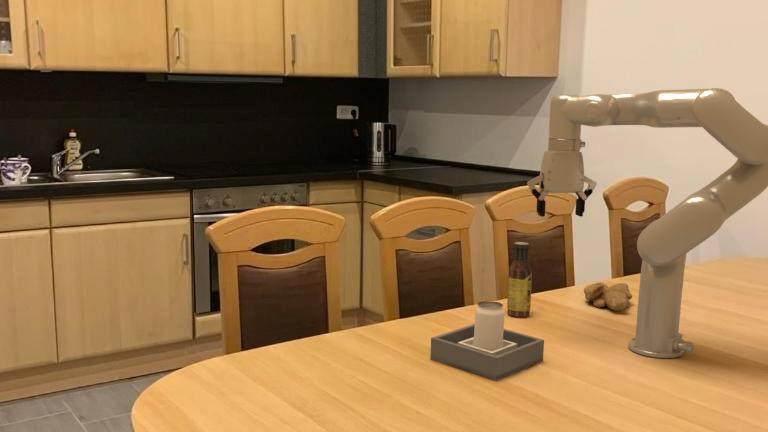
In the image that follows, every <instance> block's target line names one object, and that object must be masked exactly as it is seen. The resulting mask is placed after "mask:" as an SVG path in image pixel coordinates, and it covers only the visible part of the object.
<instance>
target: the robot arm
mask: <svg viewBox="0 0 768 432" xmlns="http://www.w3.org/2000/svg"><path fill="white" fill-rule="evenodd" d="M549 108H550V109H549V122H548V125H549V126H548V145H547V150H545V151H544V152H543V156H542V161H541V165H540V173H539V175H538V176H536V177H534V178H531V179H530V180H528V181H527V182H526V184H527V186H528V188H529V191H530V193H531V194H532V195H533V196H534V198H535V199H536V214H537V215H538V216H539V217H542V218H543V217H546V200H545V198H546V197H547V196H548V194H549V193H550V194H551V193H552V194H575V195H576V196H577V198H576V200H575V213H574V214H575V216H578V217H580V218H582V217H583V216H584V213H585V209H586V208H585V207H586V201H587V200H588V199H589V197H590V196H591V195H592V194H593V193H594V192H593V191H594V190H595V188H596V186H597V185H598V184H597V182H596V181H595V180H593V179H592V178H590V177H588V176H586V175H585V164H584V158H583V157H584V156H583V152H581V150H582V148H586V141H582V139H581V133H582V131H581V130H582V126H587V127H591V128H592V127H593V128H594V127H596V128H597V127H603V126H604V127H605V126H647V127H651V128H659V129H661V128H662V129H663V128H664V129H665V128H666V129H667V128H669V129H671V128H702V129H704V131H705V132H706V133H708V135H710V136H711V137H712V138H713V139H715V141H717V142H718V143H719V144H720V145H722V146H723V147H724V148H725V149H726V150H727V151H728V152H729V153H730V154H732V155H733V156H734V157H735V158H736V161H735V163H734V164H733V165H732V166H731V167H729V168H728V169H726V170H725V171H724V172H723V173H721V174H720V175H719V176H718V177H716V178H715V179H714V180H712V181H711V182H709V183H708V184H707V185H705V186H704V187H702V188H701V189H699V190H698V191H695V192H694V193H691V194H689V195H688V196H687V197H686V198H685V199H683V200H682V201H681V202H680V203H678V204H677V205H676V206H674V207H673V208H672V209H670V210H669V211H668V212H666V213H665V214H663V215H662V216H661V217H659V218H658V219H656V220H653V221H652V222H650V223H649V224H648V225H647V226H646V227H645V228H644V229H642V231H641V232H640V233H639V235H638V238H637V242H636V248H637V252H638V254H639V256H640V258H641V260H642V261H641V268H640V277H639V278H640V279H639V288H638V299H637V300H638V301H637V311H636V312H637V315H636V326H635V327H636V328H635V336H634V337H633V338H631V339H629V340H628V344H627V346H628V349H629V350H631V351H632V352H634V353H635V354H639V355H643V356H646V357H651V358H659V359H674V358H679V357H681V356H683V355H684V352H686V353H690V354H693V353H694V351H695V345H694V342H692V341H687V340H684V339H683V333H681V332H680V333H679V330H680V321H681V320H680V319H681V318H680V317H681V310H682V309H681V308H682V307H681V306H682V297H683V289H684V288H683V286H684V277H685V268H686V260H687V254H688V253H689V252H691V251H692V250H693V249H695V248H696V247H698V246H699V245H700V244H702V243H703V242H706V240H707V239H709V238H711V237H712V236H713V235H715V234H716V233H717V232H718V231H719V230H720V229H721V227H722V226H723V224H724V223H725V222H726V221H727V220H728V219H729V218H730V217H732V216H733V215H735V214H736V213H737V212H739V211H740V210H741V209H743V208H744V207H745V206H747V205H748V204H749V203H751V202H752V201H753V200H755V199H756V198H757V197H758V196H760V195H761V194H762V193H763V192H764V191H765V190H767V188H768V125H767V124H765V123H764V122H763V123H762V121H761V120H759V119H758V118H757V117H755V116H754V115H753V114H752V113H750V111H748V110H747V109H746V108H745V107H743V106H742V104H740V103H739V102H738V101H737V100H736V99H735V97H734V95H733V94H732V92H730V91H728V90H727V89H723V88H718V87H717V88H716V87H713V88H712V87H711V88H696V89H695V88H694V89H693V88H692V89H691V88H690V89H663V90H662V89H661V90H653V91H650V92H644V93H625V94H624V93H623V94H622V93H620V94H619V93H618V94H600V93H599V94H590V95H589V94H588V95H587V94H586V95H577V94H556V95H553V96H551V99H550V107H549ZM585 183H586V184H587V185H588V186H587V188H586V189H584V188H585ZM537 184H538V187H539V189H540V190H537V188H536V185H537Z"/></svg>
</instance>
